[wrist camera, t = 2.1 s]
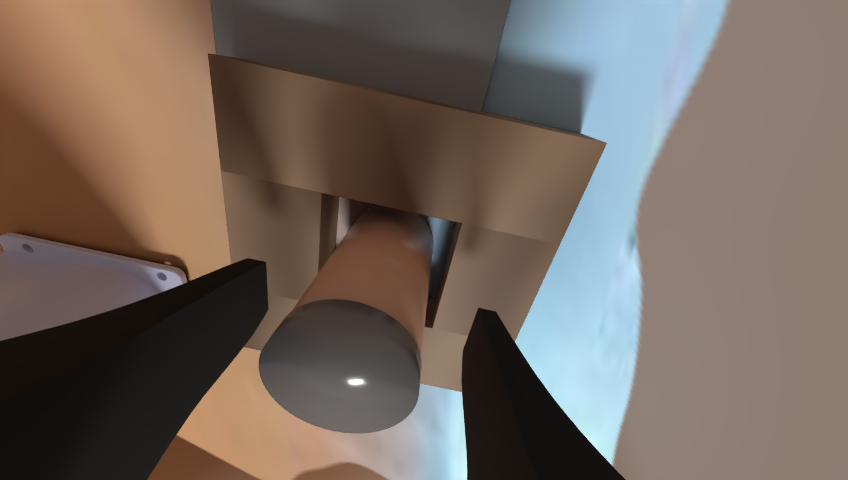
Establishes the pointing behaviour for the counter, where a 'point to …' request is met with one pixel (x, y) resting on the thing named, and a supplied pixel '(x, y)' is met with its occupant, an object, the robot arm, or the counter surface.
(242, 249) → the tan flat piece
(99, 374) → the robot arm
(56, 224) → the counter surface
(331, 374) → the spice jar
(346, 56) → the coaster
